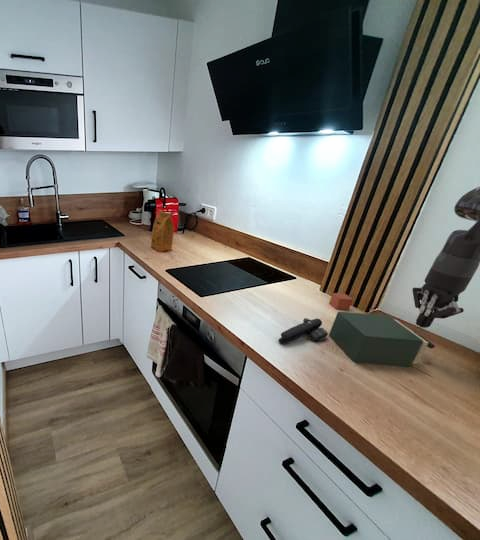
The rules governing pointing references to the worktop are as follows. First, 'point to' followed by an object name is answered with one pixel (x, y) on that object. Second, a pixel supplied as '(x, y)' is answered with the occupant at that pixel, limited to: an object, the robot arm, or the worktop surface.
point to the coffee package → (162, 232)
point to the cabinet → (374, 339)
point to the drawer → (422, 347)
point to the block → (340, 301)
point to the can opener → (304, 331)
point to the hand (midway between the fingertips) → (421, 325)
